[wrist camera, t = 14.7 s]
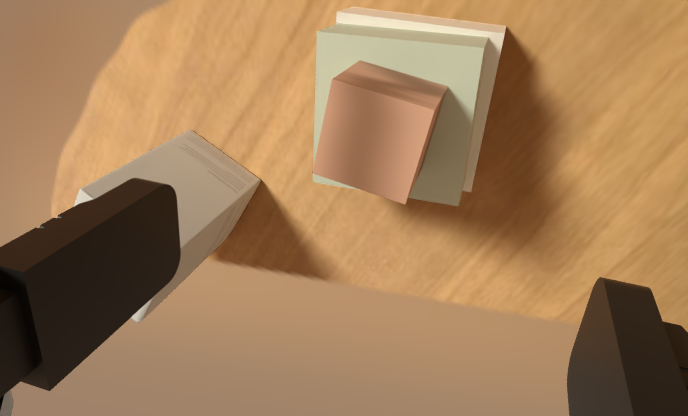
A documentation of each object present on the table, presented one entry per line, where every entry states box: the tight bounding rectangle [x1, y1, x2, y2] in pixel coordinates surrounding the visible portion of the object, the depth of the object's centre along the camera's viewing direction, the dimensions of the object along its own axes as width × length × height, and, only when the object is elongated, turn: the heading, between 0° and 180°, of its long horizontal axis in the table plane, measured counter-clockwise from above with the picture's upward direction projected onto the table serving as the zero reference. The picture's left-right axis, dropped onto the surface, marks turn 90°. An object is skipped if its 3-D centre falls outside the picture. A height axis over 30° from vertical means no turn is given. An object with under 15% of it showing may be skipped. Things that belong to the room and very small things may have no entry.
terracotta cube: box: [312, 60, 448, 204], centre depth 28 cm, size 5×5×5 cm
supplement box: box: [74, 130, 261, 323], centre depth 40 cm, size 7×7×13 cm
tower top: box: [313, 23, 488, 206], centre depth 32 cm, size 9×9×4 cm
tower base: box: [336, 6, 506, 192], centre depth 36 cm, size 10×10×4 cm
